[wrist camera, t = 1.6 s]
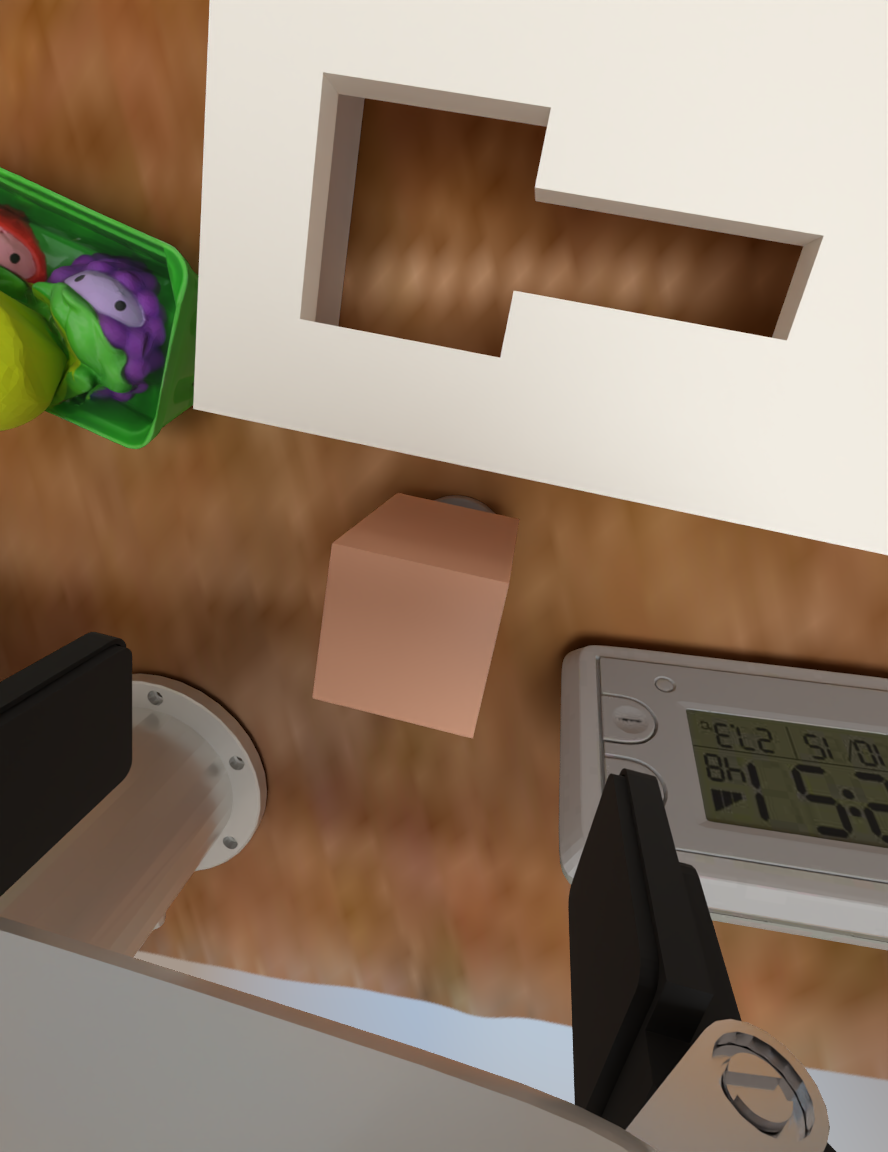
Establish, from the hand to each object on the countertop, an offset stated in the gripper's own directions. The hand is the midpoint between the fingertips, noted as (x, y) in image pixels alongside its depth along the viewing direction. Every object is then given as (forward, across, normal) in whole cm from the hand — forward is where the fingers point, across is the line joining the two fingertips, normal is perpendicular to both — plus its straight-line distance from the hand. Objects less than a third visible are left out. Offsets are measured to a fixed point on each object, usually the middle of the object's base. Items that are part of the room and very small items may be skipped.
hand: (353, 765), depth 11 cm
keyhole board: (+18, -2, -10) cm, 21 cm away
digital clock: (+18, -14, +6) cm, 23 cm away
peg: (+17, 0, +1) cm, 17 cm away
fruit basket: (+18, +18, -6) cm, 26 cm away
